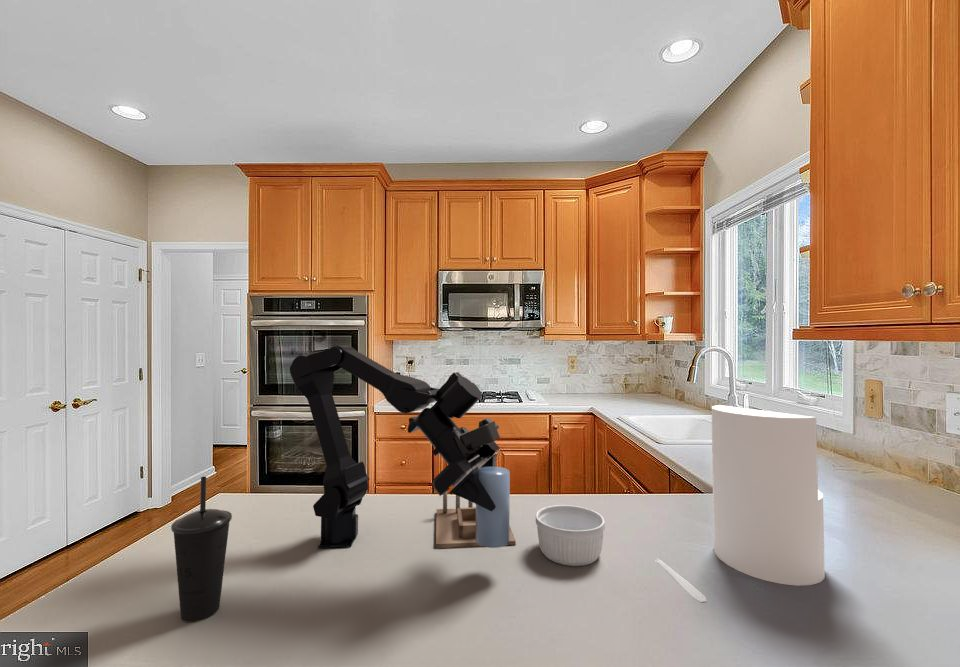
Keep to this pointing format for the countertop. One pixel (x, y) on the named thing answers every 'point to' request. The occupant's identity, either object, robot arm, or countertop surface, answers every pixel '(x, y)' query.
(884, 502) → the countertop surface
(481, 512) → the pale blue pillar candle
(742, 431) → the cylinder
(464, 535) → the drying rack
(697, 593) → the butter knife
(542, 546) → the ramekin
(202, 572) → the drinking cup
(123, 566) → the countertop surface
